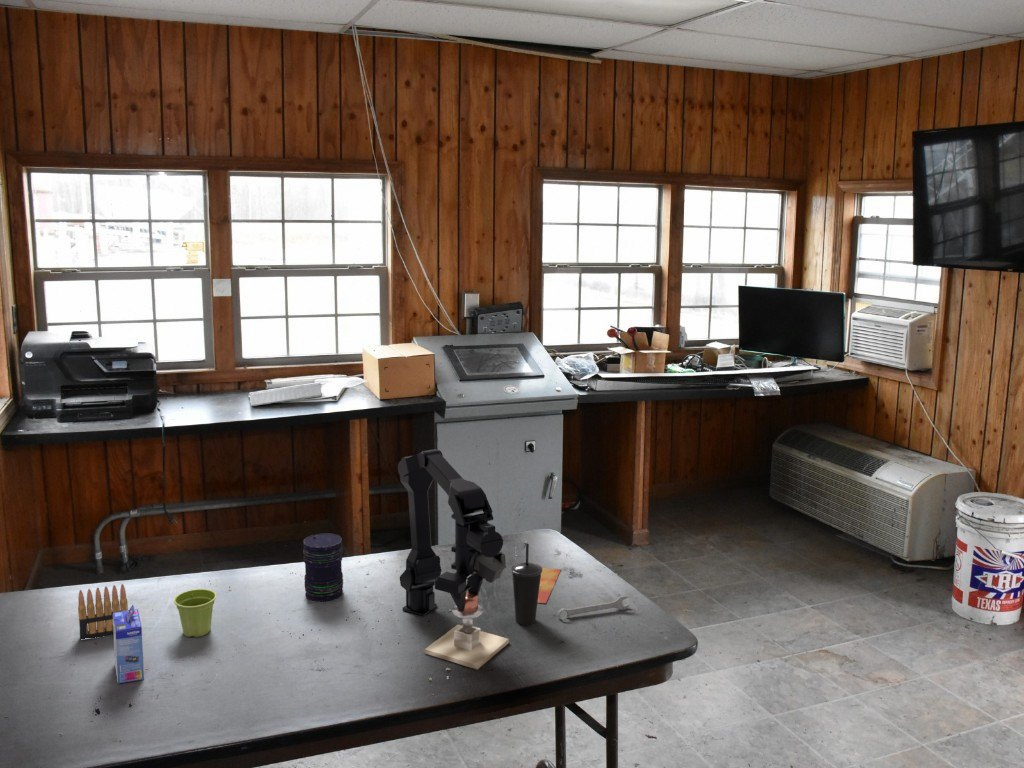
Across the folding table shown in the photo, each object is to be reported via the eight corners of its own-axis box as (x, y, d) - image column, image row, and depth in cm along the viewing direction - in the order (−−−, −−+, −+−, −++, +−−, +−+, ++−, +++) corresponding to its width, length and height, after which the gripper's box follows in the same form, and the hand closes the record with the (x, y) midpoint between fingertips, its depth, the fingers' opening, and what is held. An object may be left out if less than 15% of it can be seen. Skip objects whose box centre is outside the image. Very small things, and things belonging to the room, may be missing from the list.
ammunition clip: (130, 628, 209) (126, 581, 206) (130, 632, 207) (126, 584, 205) (80, 637, 204) (76, 589, 202) (80, 640, 203) (75, 592, 200)
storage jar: (351, 592, 230) (350, 538, 227) (324, 606, 222) (323, 550, 219) (323, 583, 235) (322, 530, 232) (296, 596, 227) (294, 541, 224)
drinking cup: (538, 629, 212) (540, 551, 208) (507, 625, 213) (508, 548, 209) (543, 615, 219) (545, 539, 215) (513, 611, 220) (514, 536, 216)
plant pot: (225, 631, 208) (223, 597, 206) (188, 645, 201) (185, 610, 200) (205, 618, 214) (204, 585, 213) (168, 631, 208) (166, 597, 206)
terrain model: (561, 571, 247) (561, 569, 246) (545, 605, 225) (545, 603, 225) (475, 561, 252) (475, 559, 252) (452, 594, 231) (452, 592, 231)
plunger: (446, 628, 200) (446, 599, 198) (462, 616, 206) (462, 587, 204) (472, 635, 196) (472, 606, 195) (488, 623, 202) (488, 594, 201)
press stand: (424, 653, 199) (424, 634, 198) (458, 628, 211) (458, 610, 210) (477, 669, 193) (477, 650, 192) (508, 642, 205) (509, 625, 204)
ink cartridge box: (146, 679, 187) (141, 616, 184) (117, 685, 184) (112, 621, 181) (141, 658, 195) (137, 597, 192) (114, 663, 193) (109, 602, 190)
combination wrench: (558, 609, 216) (631, 596, 222) (556, 606, 217) (629, 594, 223) (558, 623, 216) (631, 610, 223) (556, 620, 218) (629, 607, 224)
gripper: (476, 563, 185) (476, 632, 188) (519, 535, 201) (518, 599, 204) (433, 553, 190) (433, 619, 193) (477, 526, 206) (477, 588, 209)
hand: (467, 606), depth 200 cm, fingers closed on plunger, 5 cm apart
